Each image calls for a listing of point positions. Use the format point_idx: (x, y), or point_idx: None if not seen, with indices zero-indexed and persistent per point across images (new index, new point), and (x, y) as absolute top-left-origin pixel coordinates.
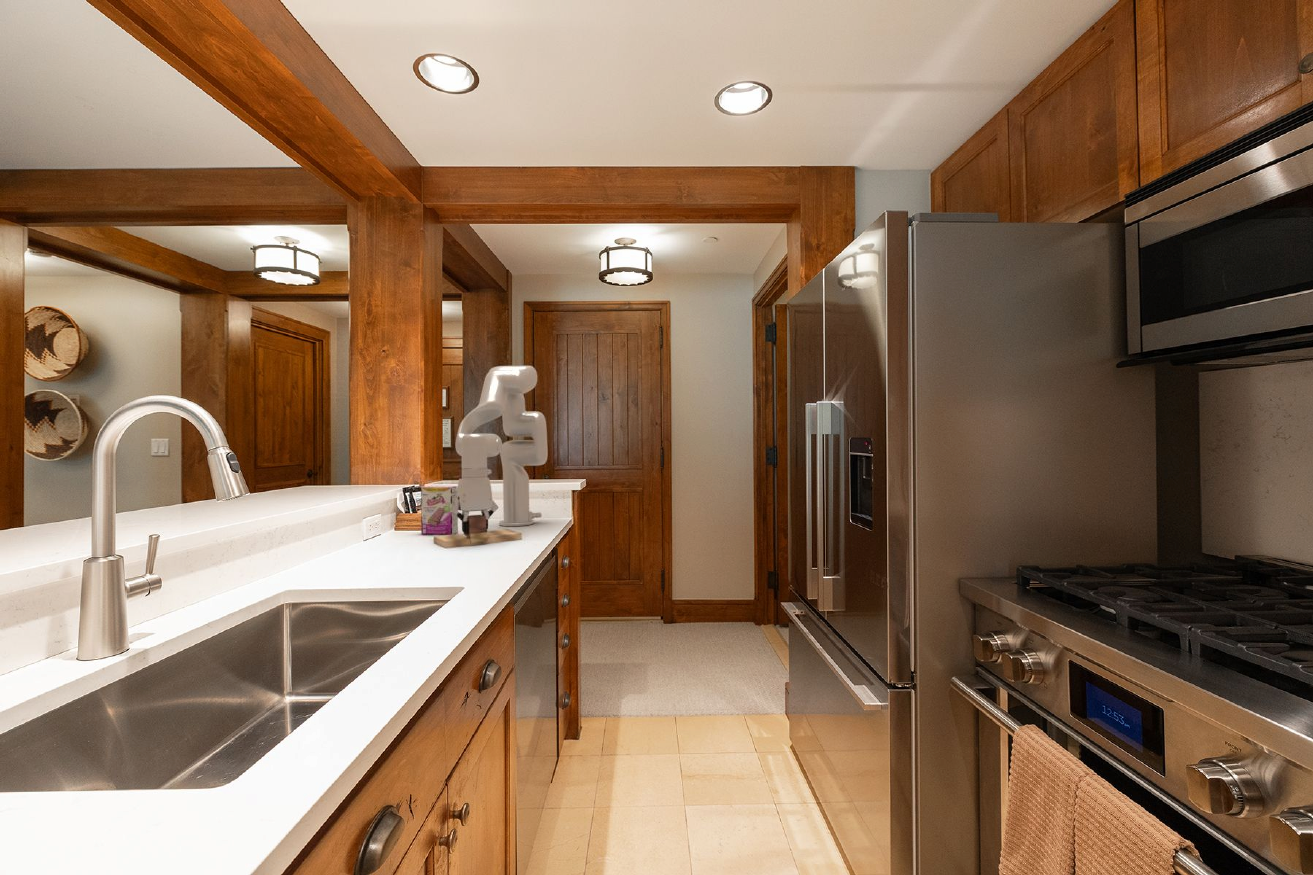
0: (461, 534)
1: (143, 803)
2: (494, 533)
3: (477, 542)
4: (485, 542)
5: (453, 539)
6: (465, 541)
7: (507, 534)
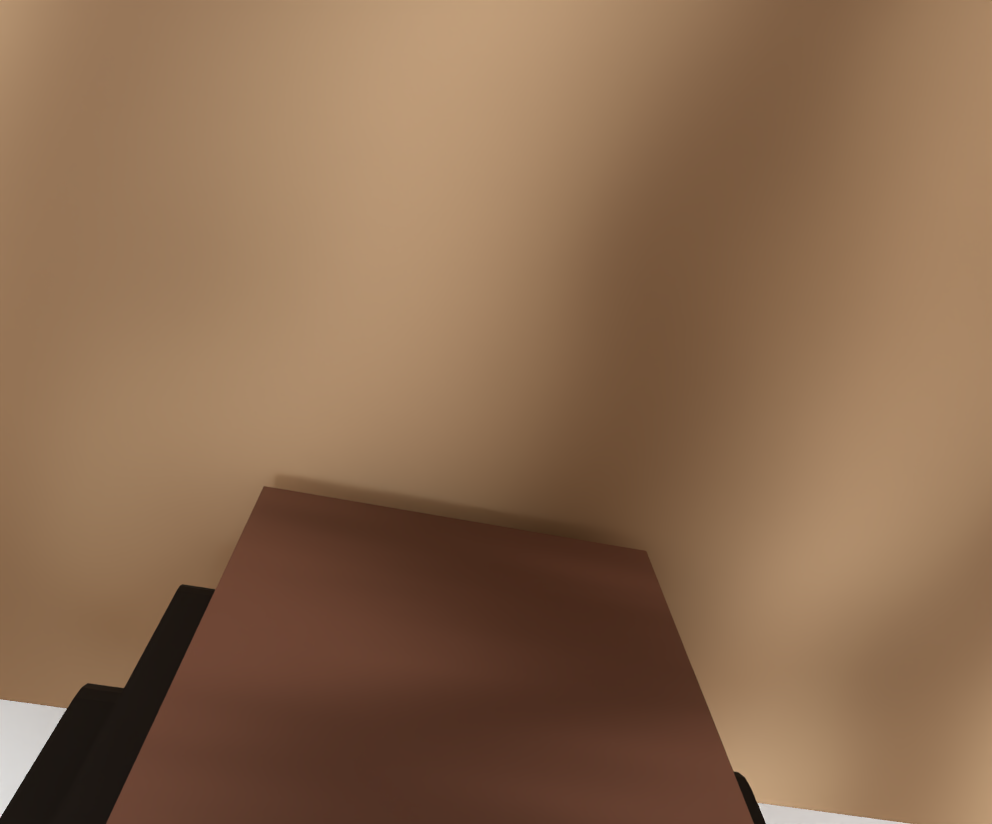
0: (424, 25)
1: None
2: (979, 547)
3: None
4: None
5: None
6: None
7: (985, 811)
